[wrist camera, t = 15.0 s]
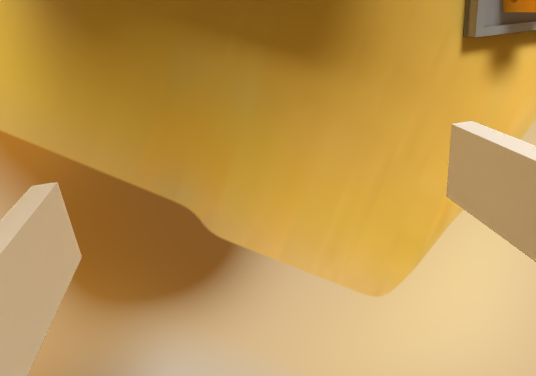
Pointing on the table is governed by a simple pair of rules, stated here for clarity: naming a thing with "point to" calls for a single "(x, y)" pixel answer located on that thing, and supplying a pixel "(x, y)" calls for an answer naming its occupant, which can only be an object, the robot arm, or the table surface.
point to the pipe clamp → (519, 5)
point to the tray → (494, 19)
